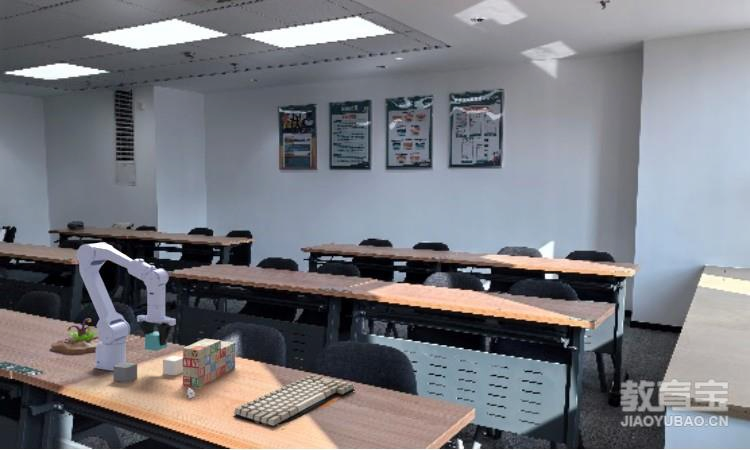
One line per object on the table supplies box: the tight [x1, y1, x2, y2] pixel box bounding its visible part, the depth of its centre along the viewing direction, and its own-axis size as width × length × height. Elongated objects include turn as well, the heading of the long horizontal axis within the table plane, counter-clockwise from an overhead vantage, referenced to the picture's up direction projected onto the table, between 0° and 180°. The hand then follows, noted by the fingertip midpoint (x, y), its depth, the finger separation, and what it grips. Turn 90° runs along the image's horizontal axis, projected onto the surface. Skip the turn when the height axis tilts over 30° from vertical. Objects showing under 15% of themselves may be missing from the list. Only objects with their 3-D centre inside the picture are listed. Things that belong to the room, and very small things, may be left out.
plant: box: [51, 318, 101, 355], centre depth 222 cm, size 20×20×11 cm
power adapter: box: [187, 387, 196, 399], centre depth 171 cm, size 3×3×3 cm
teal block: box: [144, 331, 168, 352], centre depth 194 cm, size 5×5×5 cm
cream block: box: [162, 355, 183, 376], centre depth 193 cm, size 5×5×5 cm
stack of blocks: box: [182, 338, 236, 388], centre depth 190 cm, size 21×6×12 cm, turn 162°
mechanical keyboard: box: [232, 373, 356, 431], centre depth 169 cm, size 38×19×3 cm, turn 150°
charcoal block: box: [113, 361, 138, 384], centre depth 185 cm, size 5×5×5 cm
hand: (156, 344), depth 194 cm, fingers closed on teal block, 5 cm apart
